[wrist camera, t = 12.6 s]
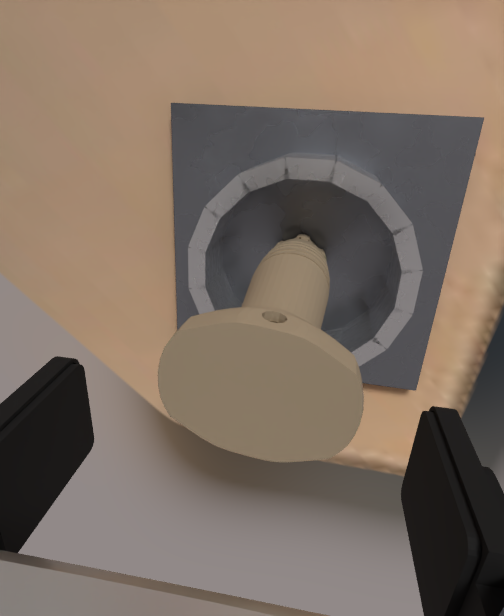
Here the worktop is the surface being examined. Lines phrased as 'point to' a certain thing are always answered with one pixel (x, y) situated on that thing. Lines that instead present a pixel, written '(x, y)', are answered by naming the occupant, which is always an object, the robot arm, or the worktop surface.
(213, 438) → the handle
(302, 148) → the duct collar
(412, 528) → the robot arm
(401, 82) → the worktop surface
